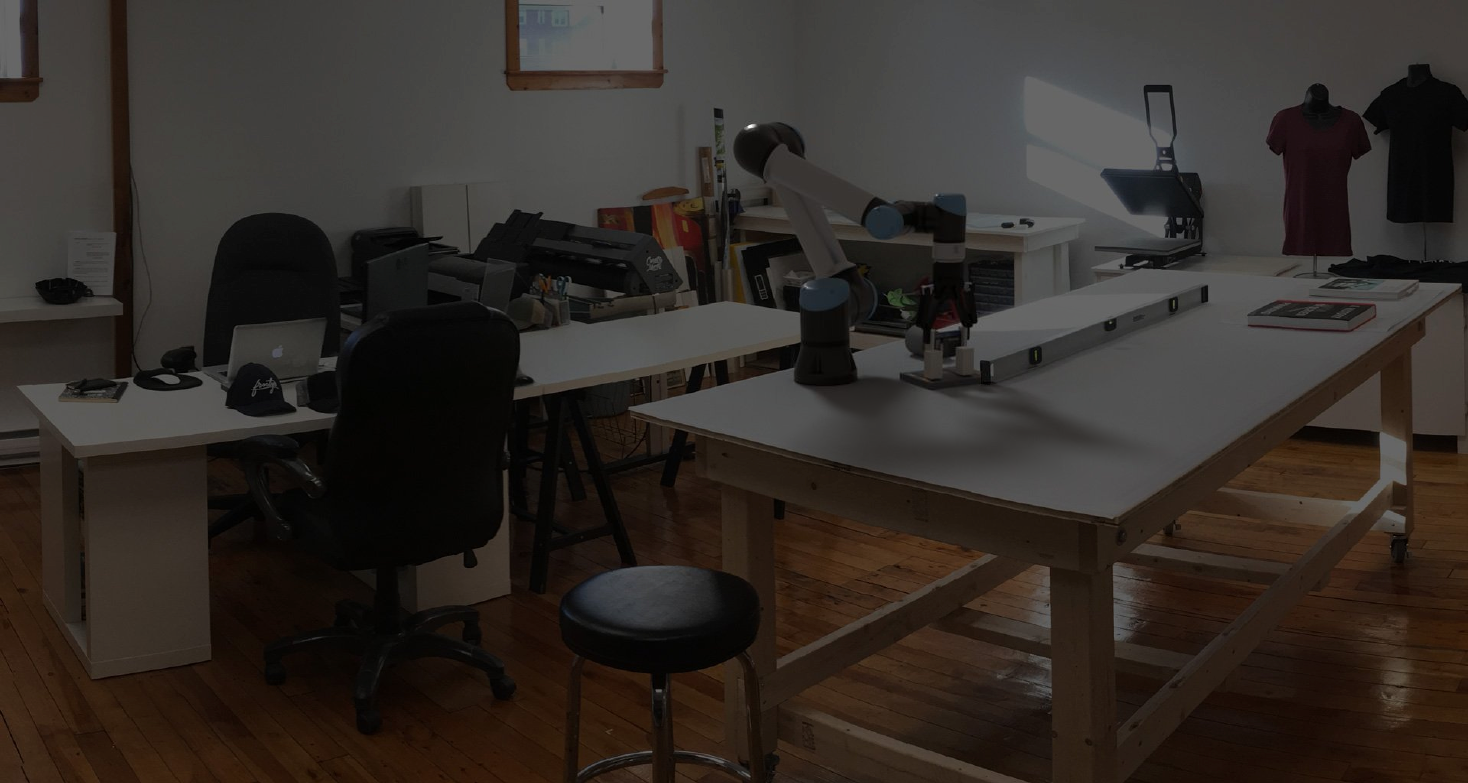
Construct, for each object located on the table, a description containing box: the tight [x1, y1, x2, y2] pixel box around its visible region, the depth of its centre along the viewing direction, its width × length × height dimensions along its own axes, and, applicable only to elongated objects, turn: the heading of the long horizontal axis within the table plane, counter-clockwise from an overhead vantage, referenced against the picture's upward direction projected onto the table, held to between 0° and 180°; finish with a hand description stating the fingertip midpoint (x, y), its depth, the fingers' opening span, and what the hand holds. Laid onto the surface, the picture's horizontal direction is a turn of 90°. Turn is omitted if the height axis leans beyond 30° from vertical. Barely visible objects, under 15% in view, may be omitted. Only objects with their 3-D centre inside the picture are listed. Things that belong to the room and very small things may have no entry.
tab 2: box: [955, 345, 975, 375], centre depth 299 cm, size 3×3×6 cm
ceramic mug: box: [904, 324, 939, 357], centre depth 333 cm, size 11×8×8 cm
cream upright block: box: [923, 350, 943, 379], centre depth 295 cm, size 3×3×6 cm
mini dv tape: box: [934, 329, 961, 359], centre depth 305 cm, size 8×2×6 cm, turn 122°
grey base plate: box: [899, 365, 982, 391], centre depth 301 cm, size 17×14×2 cm
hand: (945, 355), depth 305 cm, fingers closed on mini dv tape, 8 cm apart
